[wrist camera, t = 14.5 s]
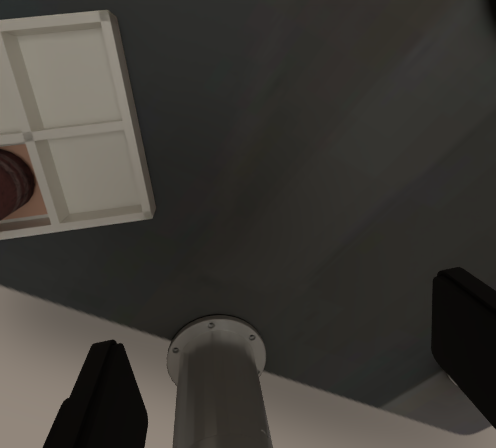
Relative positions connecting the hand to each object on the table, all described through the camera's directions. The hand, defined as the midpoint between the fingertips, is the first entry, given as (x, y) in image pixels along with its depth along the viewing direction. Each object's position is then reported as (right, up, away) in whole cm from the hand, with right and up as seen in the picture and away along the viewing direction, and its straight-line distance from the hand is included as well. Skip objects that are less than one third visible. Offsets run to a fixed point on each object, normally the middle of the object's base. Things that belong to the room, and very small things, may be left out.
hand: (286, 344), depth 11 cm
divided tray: (-21, +13, +25) cm, 35 cm away
